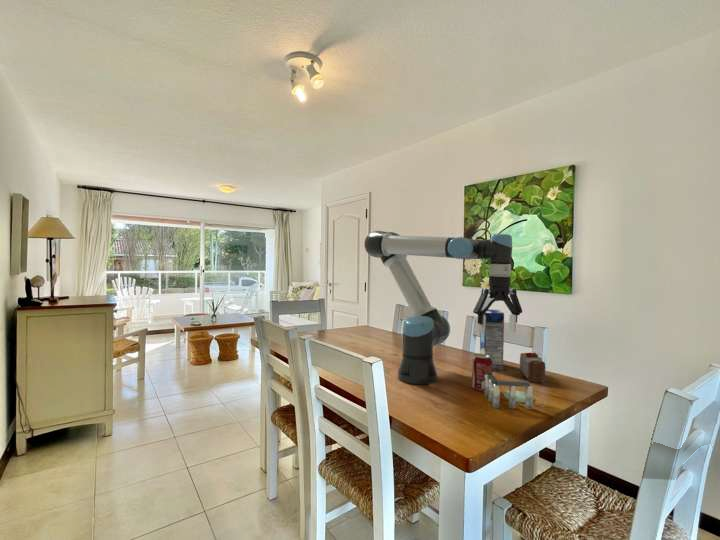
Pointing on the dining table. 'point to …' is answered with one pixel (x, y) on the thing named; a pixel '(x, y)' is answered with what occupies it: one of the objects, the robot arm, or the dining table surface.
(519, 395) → the coaster
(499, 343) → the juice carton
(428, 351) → the robot arm
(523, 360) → the food item
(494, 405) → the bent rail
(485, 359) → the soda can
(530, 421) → the dining table surface
